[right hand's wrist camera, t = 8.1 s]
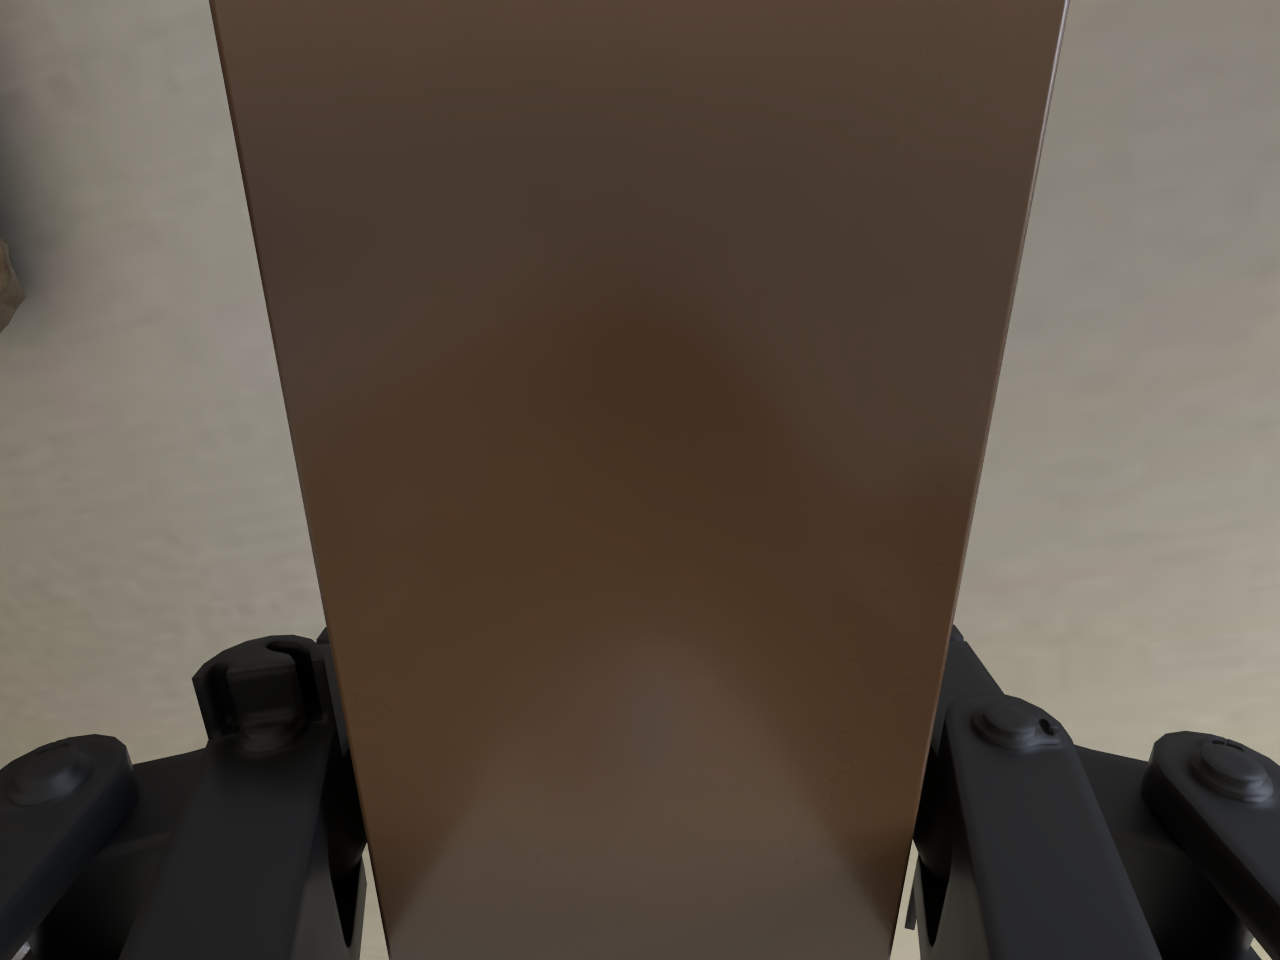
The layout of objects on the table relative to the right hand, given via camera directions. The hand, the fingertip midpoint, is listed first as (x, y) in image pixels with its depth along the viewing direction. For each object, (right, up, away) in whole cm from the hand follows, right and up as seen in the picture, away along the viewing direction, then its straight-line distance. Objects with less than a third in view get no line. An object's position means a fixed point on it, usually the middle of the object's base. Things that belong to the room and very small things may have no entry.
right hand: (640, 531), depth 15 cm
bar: (0, +9, -3) cm, 10 cm away
